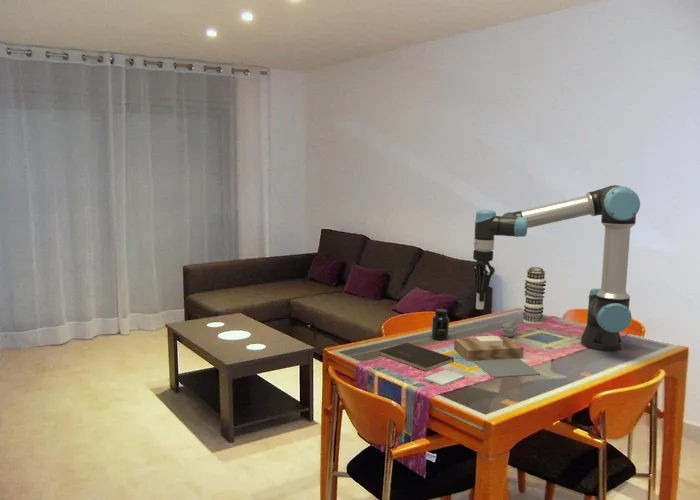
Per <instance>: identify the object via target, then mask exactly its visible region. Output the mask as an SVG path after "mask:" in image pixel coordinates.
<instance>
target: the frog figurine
mask: <svg viewBox="0 0 700 500" xmlns="http://www.w3.org/2000/svg"><path fill="white" fill-rule="evenodd" d="M519 324H520V323H518V322H516V320H509V321H507V322H505V323H503V324H502V325H501V328H502V332H503V334H504V337H508V338H511V337H513V336H515V333H516V331H517V330H518V329H519V328H520V327H519V326H520V325H519Z"/></svg>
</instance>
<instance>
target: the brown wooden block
mask: <svg viewBox="0 0 700 500" xmlns="http://www.w3.org/2000/svg"><path fill="white" fill-rule="evenodd" d="M498 337H499V338H500V339H502V340H503V345H501V346H481V347H480V346H479V345H478V344H477V343H475V342H474V338H454V344H453V347H454V350H455V351H456V352H457V353H458V354H459V355H460V356H461V357H463V359H465V360H466V361H467V362H474V361H483V360H496V359H498V360H502V359H523V358H524V347H523V346H522V345H520V344H518V343H517V342H515V341H514V340H513V339H511V337H507V336H498Z"/></svg>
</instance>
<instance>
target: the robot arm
mask: <svg viewBox="0 0 700 500" xmlns="http://www.w3.org/2000/svg"><path fill="white" fill-rule="evenodd" d="M640 208H641V200H640V197H639V196H638V194H637V193H636V192H635V191H634V190H633V188H632V189H631V188H630V187H627V186H621V185H616V184H614V185H608V186H605V187H603V188H599V189H597V190H593V191H589V192H587V193H586V194H585V195H584V196H582V195H581V196H578V197H574V198H570V199H565V200H561V201H558V202H552V203H548V204H543V205H540V206H539V205H538V206H535V207H531V208H530V207H529V208H525V209H520V210H518V211H513V212H506V213H504V214H503V215H502V216H500V215H497V212H496V211H495V210H492V209H490V210H489V209H479V210H477V212H476V213H475V222H474V241H473V242H472V244H473V249H474V250H473V252H472V253H473V256H472V258H473V260H474V261H476V262H475V264H473V265H472V268H473V284H474V285H473V286H474V290H475V292H476V298H475V299H476V302H475V309H476V310H485V309H484V308H485V297H486V296H485V294H487V293H488V292H489V287H490V282H491V281H490V280H491V276H492V273H493V270H490V262H492V261H493V259H494V251H493V250H494V248H495V236H498V237H499V236H503V237H516V238H521V237H522V238H523V237H524V238H525V237H526V236H527V234H528V229H529V228H534V227H538V226H544V225H547V224H553V223H556V222H562V221H567V220H570V219H574V218H580V217H584V216H591V217H596V216H601V224H602V225H603V226H604V241H603V253H602V254H603V256H602V257H603V259H602V270H601V271H602V273H601V285H600V287H601V288H592V289H590V291H589V295H588V305H587V306H588V308H587V320H586V321H587V322H586V326H585V328H584V330H583V333H582V335H581V337H580V344H581V345H582V346H584V347H586V348H588V349H593V350H597V351H605V352H606V351H607V352H610V351H611V352H612V351H613V352H615V351H618V350H620V349H622V339H621V336H620V335H621V334H620V332H623V331H624V330H626V329H627V328H628V327H629V326H630V324H631V322H632V319H633V318H632V313H631V310H630V302H631V301H630V299H631V296H630V295H629V293H628V292H627V278H628V266H629V252H630V239H631V238H630V236H631V229H632V227H634V226H635V225H636V221H637V220H636V219H637V214H638V212H639V211H640Z"/></svg>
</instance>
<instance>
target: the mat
mask: <svg viewBox="0 0 700 500" xmlns="http://www.w3.org/2000/svg"><path fill="white" fill-rule="evenodd" d="M473 362H474V363H475V365H477V366H478V368H480V367H481V368H482V369H481V368H480V369H481V370H483V372H484V373H486V372H487V373H488V374H489V375H490V376H491V378H492V377H493V378H508V377H509V378H510V377H521V376H522V377H526V376H541V373H539V372H538V370H536V369H534V368H532V366H530V365H528V364H527V363H526V362H525V361H523V360H522V359H521V358H517V359H498V360H480V361H473ZM487 373H486V374H487ZM488 374H487V375H488ZM489 375H488V376H489ZM490 376H489V377H490Z"/></svg>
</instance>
